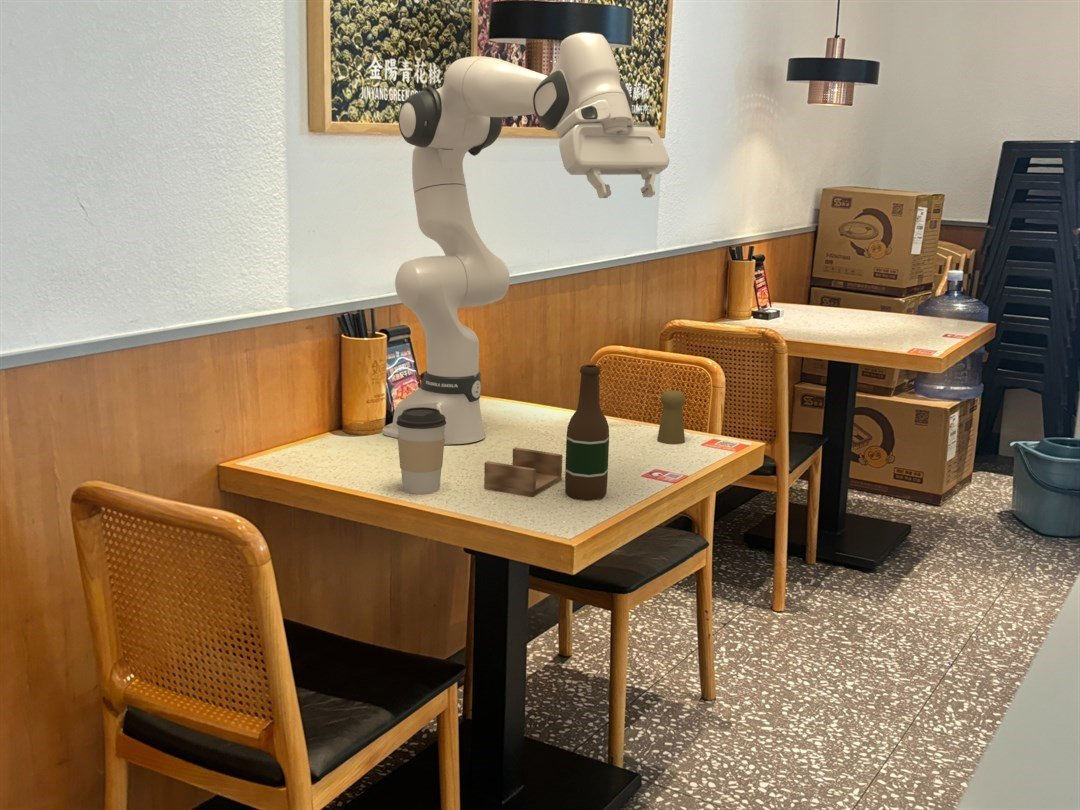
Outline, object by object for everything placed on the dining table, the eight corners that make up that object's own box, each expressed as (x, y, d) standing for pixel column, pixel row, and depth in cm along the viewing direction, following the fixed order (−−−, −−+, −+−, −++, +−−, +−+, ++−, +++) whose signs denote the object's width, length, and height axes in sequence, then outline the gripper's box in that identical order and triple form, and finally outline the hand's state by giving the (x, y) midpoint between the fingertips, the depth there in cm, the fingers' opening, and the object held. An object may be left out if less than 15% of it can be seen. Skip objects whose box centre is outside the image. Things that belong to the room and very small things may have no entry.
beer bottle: (562, 488, 214) (566, 361, 208) (604, 488, 214) (609, 362, 209) (566, 501, 206) (570, 370, 201) (609, 501, 207) (614, 370, 201)
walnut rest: (484, 488, 212) (484, 462, 211) (515, 472, 223) (515, 447, 222) (532, 497, 208) (533, 470, 207) (561, 479, 219) (562, 454, 218)
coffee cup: (386, 488, 211) (385, 408, 208) (422, 478, 218) (422, 401, 214) (419, 499, 205) (419, 417, 202) (456, 488, 212) (456, 409, 208)
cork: (682, 437, 252) (685, 388, 250) (687, 444, 247) (689, 394, 244) (655, 436, 252) (657, 387, 250) (658, 444, 246) (661, 394, 244)
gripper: (642, 131, 202) (664, 203, 200) (547, 128, 191) (568, 205, 188) (664, 113, 197) (686, 187, 195) (567, 110, 186) (589, 188, 183)
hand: (627, 196), depth 191 cm, fingers open, 8 cm apart
